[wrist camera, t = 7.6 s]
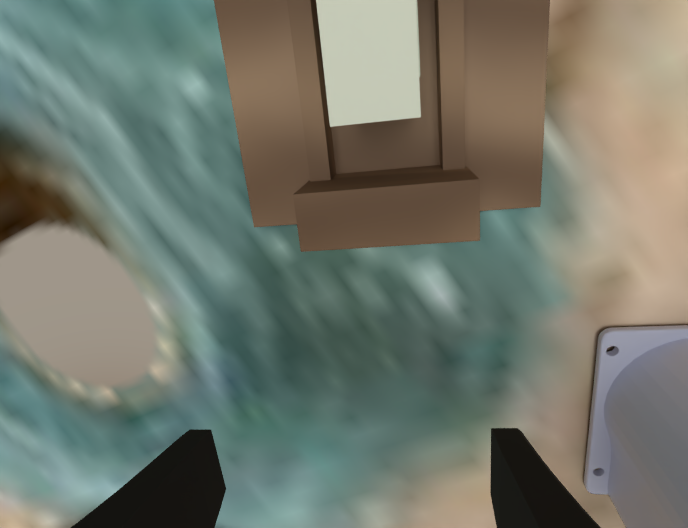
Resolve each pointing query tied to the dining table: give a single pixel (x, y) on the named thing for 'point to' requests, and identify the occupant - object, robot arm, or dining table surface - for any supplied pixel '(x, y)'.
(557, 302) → the dining table surface
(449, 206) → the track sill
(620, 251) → the dining table surface
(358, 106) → the door panel
